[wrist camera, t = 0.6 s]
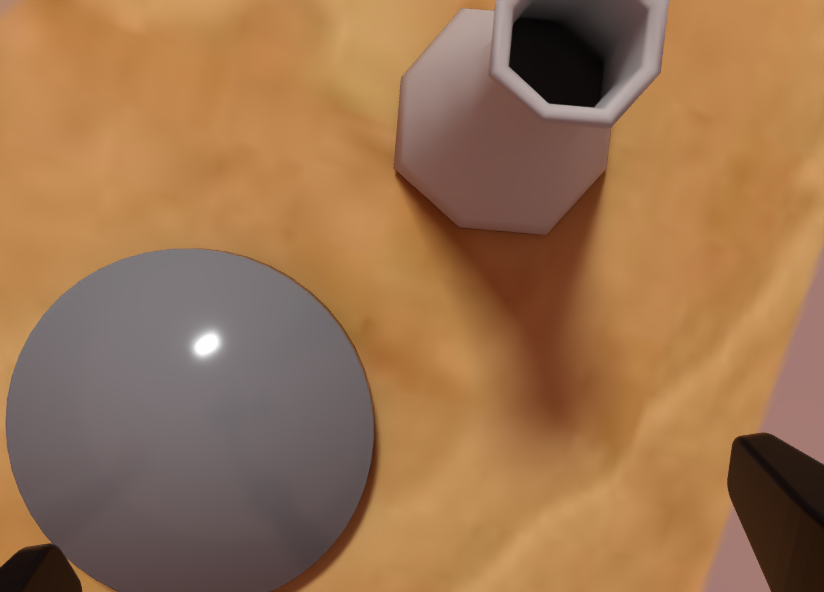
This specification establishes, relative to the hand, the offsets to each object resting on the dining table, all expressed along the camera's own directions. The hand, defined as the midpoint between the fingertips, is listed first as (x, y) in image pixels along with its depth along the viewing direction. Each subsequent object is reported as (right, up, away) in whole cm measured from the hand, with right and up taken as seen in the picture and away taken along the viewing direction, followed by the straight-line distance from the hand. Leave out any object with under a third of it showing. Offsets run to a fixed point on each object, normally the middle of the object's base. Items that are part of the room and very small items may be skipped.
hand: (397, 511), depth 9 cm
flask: (+3, +8, +13) cm, 16 cm away
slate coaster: (-7, -2, +14) cm, 16 cm away
